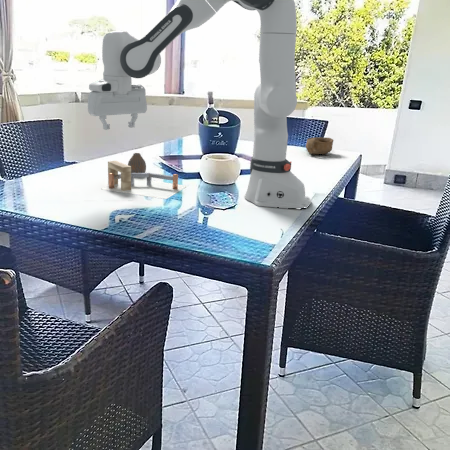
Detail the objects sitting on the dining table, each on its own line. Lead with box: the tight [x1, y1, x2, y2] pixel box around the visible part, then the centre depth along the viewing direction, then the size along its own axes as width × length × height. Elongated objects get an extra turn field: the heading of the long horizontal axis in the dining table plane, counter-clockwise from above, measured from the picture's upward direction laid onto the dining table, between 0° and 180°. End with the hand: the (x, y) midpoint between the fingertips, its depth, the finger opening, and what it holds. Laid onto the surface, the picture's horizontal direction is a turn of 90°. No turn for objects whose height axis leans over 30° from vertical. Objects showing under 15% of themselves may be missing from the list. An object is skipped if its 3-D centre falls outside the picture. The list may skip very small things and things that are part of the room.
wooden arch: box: [107, 160, 131, 191], centre depth 167 cm, size 3×10×8 cm, turn 42°
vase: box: [127, 152, 147, 173], centre depth 186 cm, size 7×7×9 cm
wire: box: [108, 172, 179, 189], centre depth 170 cm, size 23×6×5 cm, turn 100°
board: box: [101, 177, 188, 200], centre depth 170 cm, size 24×19×1 cm
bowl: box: [305, 136, 335, 155], centre depth 250 cm, size 18×14×10 cm
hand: (119, 128), depth 162 cm, fingers open, 8 cm apart
